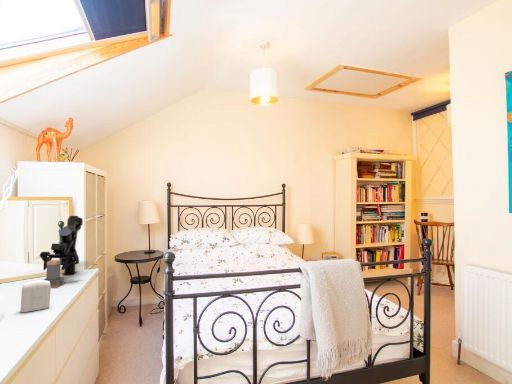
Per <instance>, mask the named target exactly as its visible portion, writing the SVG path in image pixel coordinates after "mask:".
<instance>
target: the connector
mask: <svg viewBox="0 0 512 384" xmlns="http://www.w3.org/2000/svg"><path fill="white" fill-rule="evenodd" d="M61 267H62V261H61V259H59V260H58V259H57V260H56V259H52V260H51V261H48V262H47V268H46V278H45V279H46V280H57V279H60V277H61Z"/></svg>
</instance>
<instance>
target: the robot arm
mask: <svg viewBox="0 0 512 384" xmlns="http://www.w3.org/2000/svg"><path fill="white" fill-rule="evenodd" d="M66 223H67V225H65V226H64V227H63V228H61V229H60V230H59V232H58V233H59V239H60V243H52V244H51V247H50V250H51V251H52V253H50V251H41V253H40V254H39V255H38V256H39V257H40V259H41V260H42V261H43V268H42V269H43V270H44V271H46V270H47V262H48V261H51V260H53V259H60V260H61V267H60V271H63V273H62V274H61V275H62V276H65V275H66V276H67V275H69V276H70V275H72V276H73V275H75V274H77V271H76V265H78V264H79V263H80V258H79V257H80V256H79V254H78V252H77V250H76V244H77V238H78V232H79V231H80V230H81V229H82V226H83V223H84V220H83V218H82V217H79V216H78V215H70V216H69V217H67V222H66Z"/></svg>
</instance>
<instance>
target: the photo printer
mask: <svg viewBox="0 0 512 384" xmlns="http://www.w3.org/2000/svg"><path fill="white" fill-rule="evenodd" d="M51 289H52V288H51V285H50V281H47V280H44V279H37V280H32V281H29V282H26V283H23V285H22V288H21V295H20V297H21V298H20V299H21V300H20V311H19V312H21V313H27V312H28V313H29V312H33V311H39V310H44V309H45V310H46V309H49V308H50V303H51Z"/></svg>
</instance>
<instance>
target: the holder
mask: <svg viewBox="0 0 512 384" xmlns="http://www.w3.org/2000/svg"><path fill="white" fill-rule="evenodd" d="M43 280H46V278H44V279H43ZM47 281H50V285H51V289H57V288H58V289H59V288H60V287H62V286H64V285H66V283H67V281H65V277H64V276H60V279H57V280H47Z"/></svg>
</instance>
